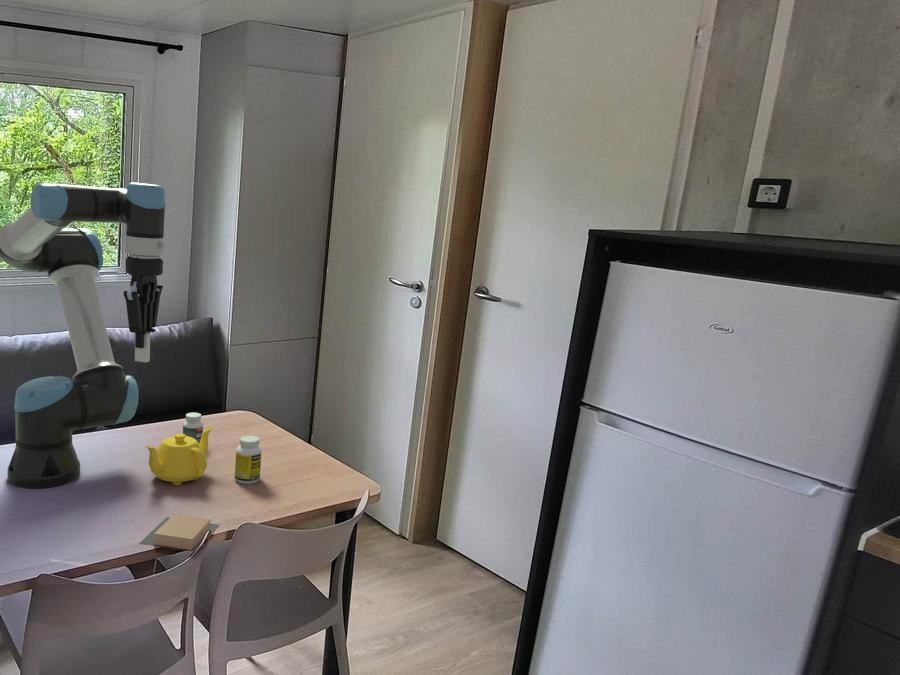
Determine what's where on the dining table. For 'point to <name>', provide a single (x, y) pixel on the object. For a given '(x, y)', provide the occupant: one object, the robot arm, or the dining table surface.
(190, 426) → the pill bottle
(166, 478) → the teapot
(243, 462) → the pill bottle
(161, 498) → the dining table surface
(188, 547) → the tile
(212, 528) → the mat
